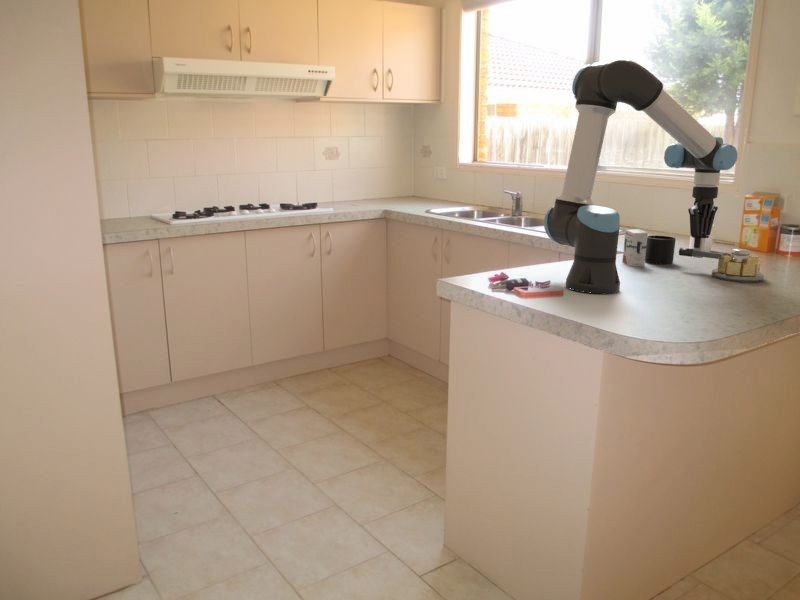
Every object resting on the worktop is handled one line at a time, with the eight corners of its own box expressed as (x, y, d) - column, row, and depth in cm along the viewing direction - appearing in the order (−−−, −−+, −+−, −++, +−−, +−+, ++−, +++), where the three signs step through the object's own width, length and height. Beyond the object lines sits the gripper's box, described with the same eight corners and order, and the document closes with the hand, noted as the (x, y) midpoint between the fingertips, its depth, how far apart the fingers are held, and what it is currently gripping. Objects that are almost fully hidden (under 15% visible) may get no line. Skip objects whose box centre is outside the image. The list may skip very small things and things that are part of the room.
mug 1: (652, 258, 245) (655, 233, 243) (678, 264, 235) (681, 238, 233) (633, 259, 241) (636, 235, 239) (659, 265, 231) (662, 239, 229)
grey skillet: (752, 277, 205) (755, 259, 203) (672, 266, 220) (674, 249, 219) (761, 272, 213) (764, 254, 212) (684, 262, 228) (686, 245, 227)
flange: (733, 283, 204) (737, 254, 202) (701, 273, 218) (704, 246, 216) (774, 281, 208) (779, 253, 205) (740, 272, 222) (744, 245, 220)
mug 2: (716, 254, 257) (719, 227, 255) (694, 253, 258) (697, 226, 256) (707, 249, 269) (711, 223, 266) (686, 248, 270) (689, 222, 267)
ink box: (621, 261, 237) (625, 228, 234) (635, 262, 237) (638, 229, 234) (630, 266, 229) (634, 232, 226) (644, 266, 229) (648, 232, 226)
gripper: (706, 184, 222) (699, 253, 228) (683, 185, 216) (675, 257, 221) (728, 185, 216) (719, 257, 222) (704, 187, 209) (696, 261, 215)
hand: (697, 257), depth 222 cm, fingers closed
